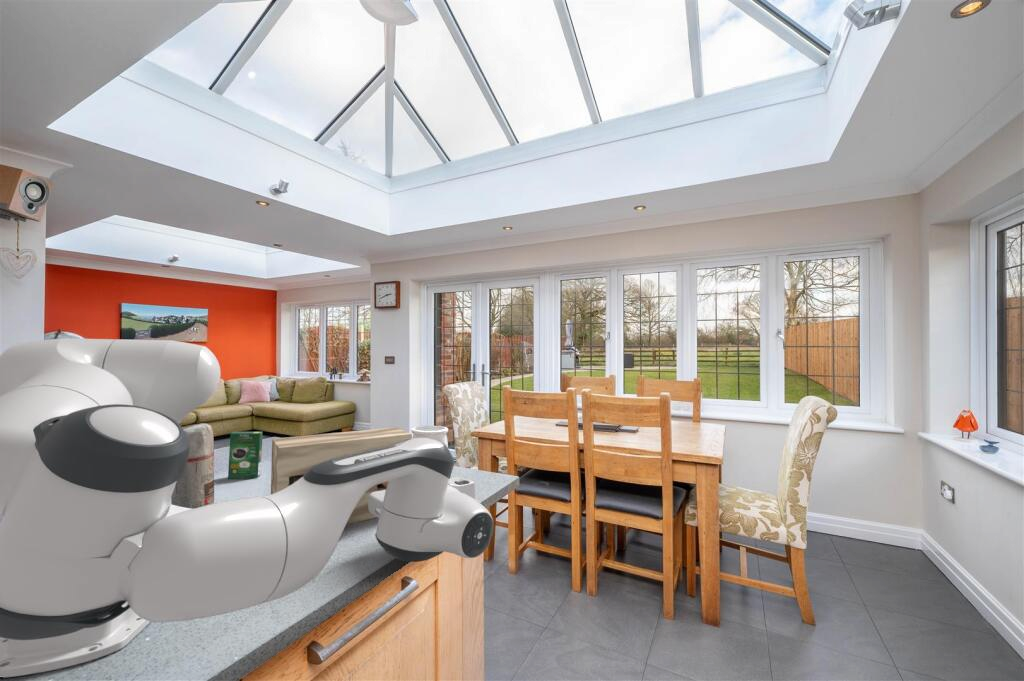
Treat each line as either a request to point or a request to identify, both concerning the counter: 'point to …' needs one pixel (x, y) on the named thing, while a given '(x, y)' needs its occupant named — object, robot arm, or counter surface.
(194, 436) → the paper wrapped package
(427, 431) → the jar
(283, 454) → the wooden holder box
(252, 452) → the coffee box
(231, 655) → the counter surface
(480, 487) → the counter surface
